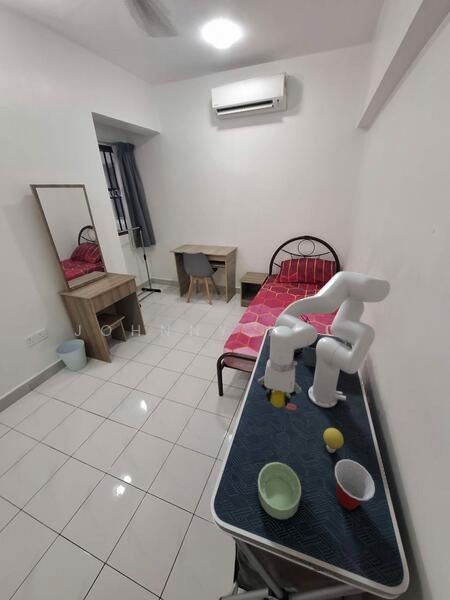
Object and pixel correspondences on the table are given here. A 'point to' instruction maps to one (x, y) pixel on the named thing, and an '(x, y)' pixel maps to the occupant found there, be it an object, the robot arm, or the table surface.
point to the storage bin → (311, 350)
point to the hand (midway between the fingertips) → (277, 400)
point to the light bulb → (333, 439)
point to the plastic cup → (353, 484)
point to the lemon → (278, 398)
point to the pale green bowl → (279, 490)
